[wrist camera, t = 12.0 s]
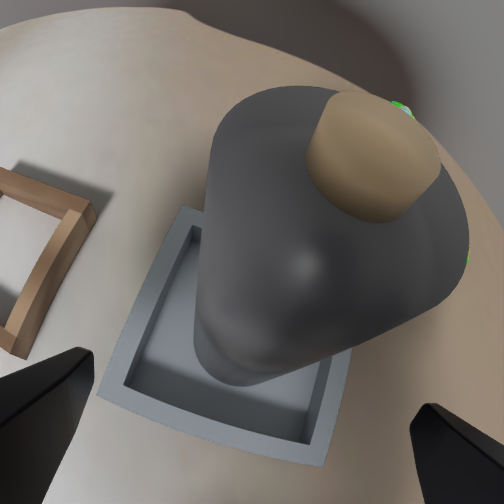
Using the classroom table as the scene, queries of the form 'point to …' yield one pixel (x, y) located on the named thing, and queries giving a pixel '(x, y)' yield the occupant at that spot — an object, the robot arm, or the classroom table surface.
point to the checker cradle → (43, 255)
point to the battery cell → (319, 231)
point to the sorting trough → (204, 385)
